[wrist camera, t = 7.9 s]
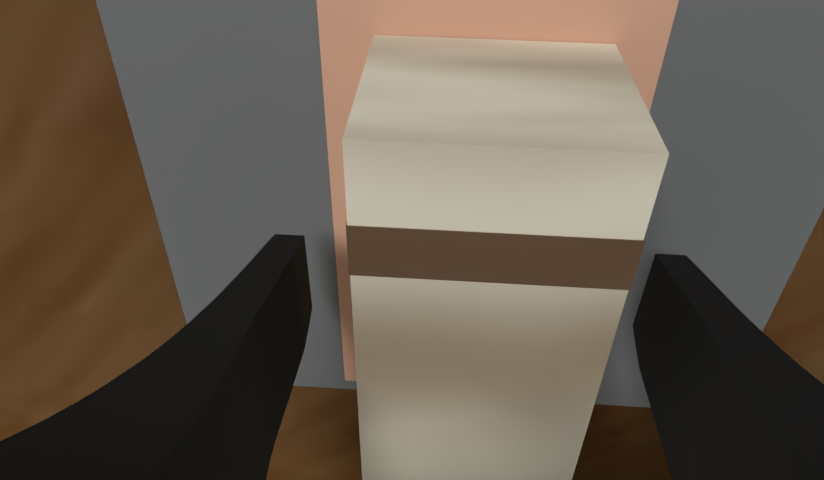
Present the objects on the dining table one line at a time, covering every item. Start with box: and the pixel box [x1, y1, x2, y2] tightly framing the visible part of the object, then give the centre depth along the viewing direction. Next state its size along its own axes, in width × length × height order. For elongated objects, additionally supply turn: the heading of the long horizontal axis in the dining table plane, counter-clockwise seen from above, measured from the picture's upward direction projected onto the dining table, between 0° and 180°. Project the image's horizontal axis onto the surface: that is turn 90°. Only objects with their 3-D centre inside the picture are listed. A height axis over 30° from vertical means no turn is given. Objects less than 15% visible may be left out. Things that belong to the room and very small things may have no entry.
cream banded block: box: [342, 35, 669, 480], centre depth 13 cm, size 9×4×4 cm, turn 0°
